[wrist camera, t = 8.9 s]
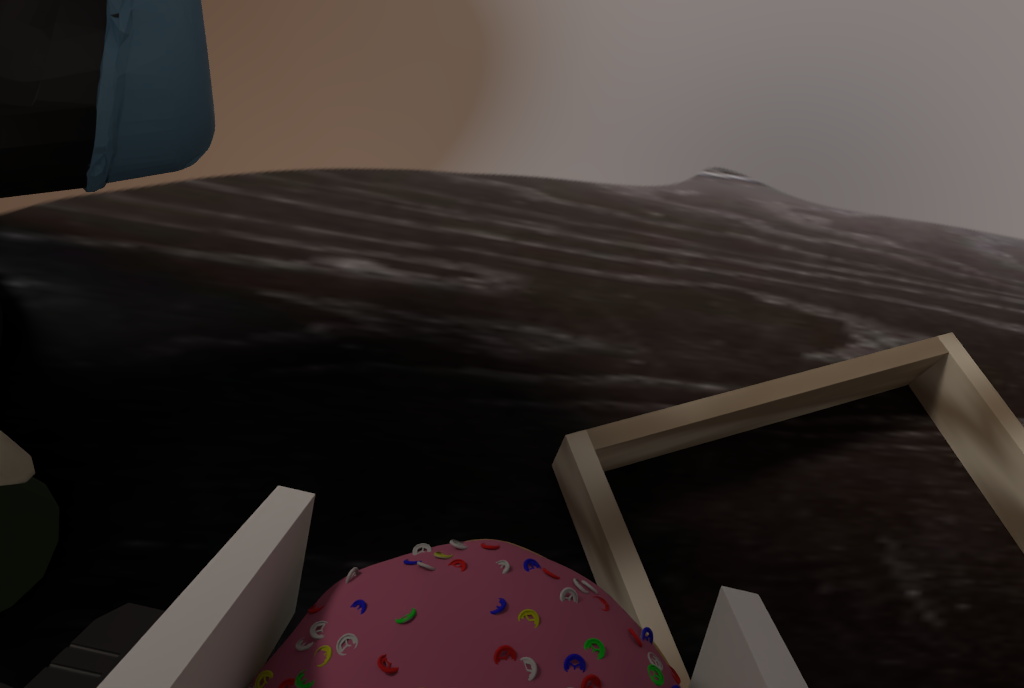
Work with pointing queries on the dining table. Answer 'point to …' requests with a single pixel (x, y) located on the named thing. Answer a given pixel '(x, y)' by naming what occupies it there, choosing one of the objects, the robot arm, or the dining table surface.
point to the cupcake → (467, 627)
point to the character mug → (23, 524)
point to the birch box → (922, 365)
